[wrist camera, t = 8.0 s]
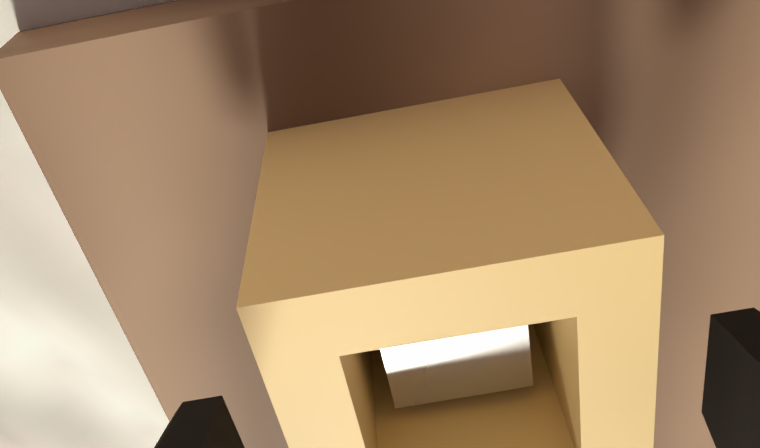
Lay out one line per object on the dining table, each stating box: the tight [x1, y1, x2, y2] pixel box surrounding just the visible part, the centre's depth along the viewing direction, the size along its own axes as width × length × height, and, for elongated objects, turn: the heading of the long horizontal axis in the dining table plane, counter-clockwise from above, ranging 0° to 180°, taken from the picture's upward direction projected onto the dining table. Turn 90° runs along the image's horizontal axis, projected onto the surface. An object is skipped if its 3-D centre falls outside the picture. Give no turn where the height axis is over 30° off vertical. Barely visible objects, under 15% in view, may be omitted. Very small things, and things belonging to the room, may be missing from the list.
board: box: [0, 0, 760, 448], centre depth 17 cm, size 22×16×2 cm
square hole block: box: [236, 79, 664, 448], centre depth 13 cm, size 5×5×5 cm
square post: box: [381, 325, 533, 409], centre depth 13 cm, size 2×2×4 cm
